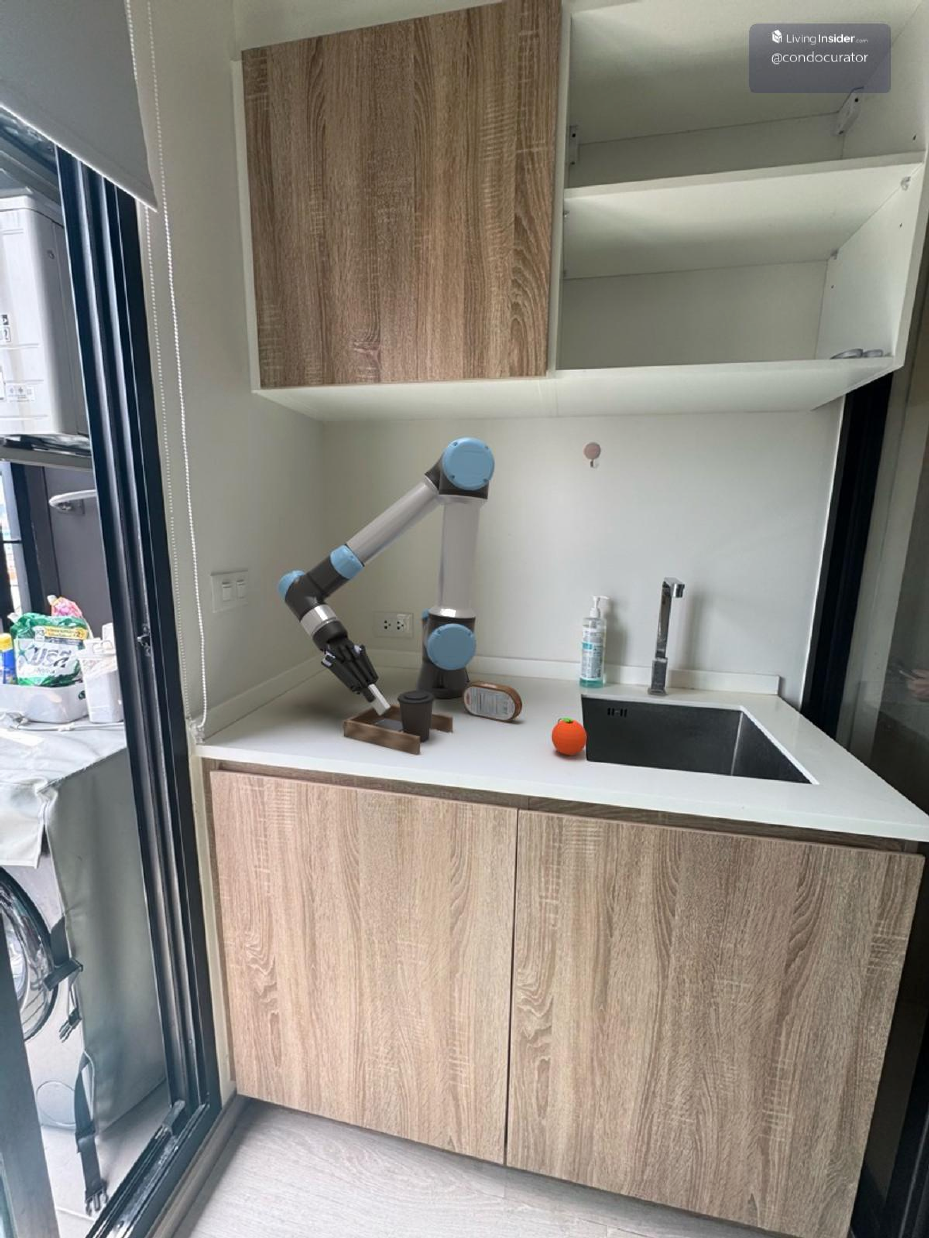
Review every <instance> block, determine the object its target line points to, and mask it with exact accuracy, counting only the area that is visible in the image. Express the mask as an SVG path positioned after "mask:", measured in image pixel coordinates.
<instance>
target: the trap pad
mask: <svg viewBox="0 0 929 1238" xmlns="http://www.w3.org/2000/svg"><path fill="white" fill-rule="evenodd" d="M372 725H373V726H377V727H381V728H386V729H390V730H394V731H398V732H403V728H402V722H400V721H395V720H391V719H385V718H384V719H382V720H380V721H378V722H376V723H374V724H372Z"/></svg>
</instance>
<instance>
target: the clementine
mask: <svg viewBox="0 0 929 1238" xmlns="http://www.w3.org/2000/svg"><path fill="white" fill-rule="evenodd" d="M585 729H586V728H584V726H583V725H582V724H581V723H579V722H578V721H577V720H575V719H571V718H569V717H564V718H558V721H557V723H556V724H555V726H554V727H553V729H552V731H551V742H552V744H553V747H554V748H555V749H556V750H557V751H558V752H560V753H561V754H563V755H567V756H572V755H576V754H579V753H580V752H581V751H583V749H585V746H586V744H587V740H588V738H587V736H588V735H587V732H586V730H585Z"/></svg>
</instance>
